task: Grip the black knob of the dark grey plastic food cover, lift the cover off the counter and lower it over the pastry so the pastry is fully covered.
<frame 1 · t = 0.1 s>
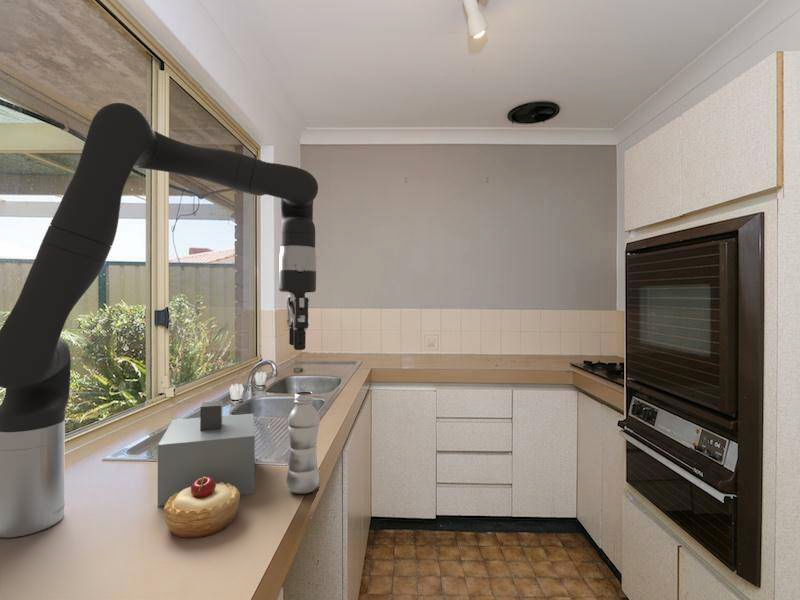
hand: (296, 347, 89), 29 cm above the worktop, tool pointing down, fingers open, 8 cm apart
plastic bottle: (302, 491, 87), on the worktop
food cover: (211, 481, 91), on the worktop
pastry: (203, 524, 74), on the worktop
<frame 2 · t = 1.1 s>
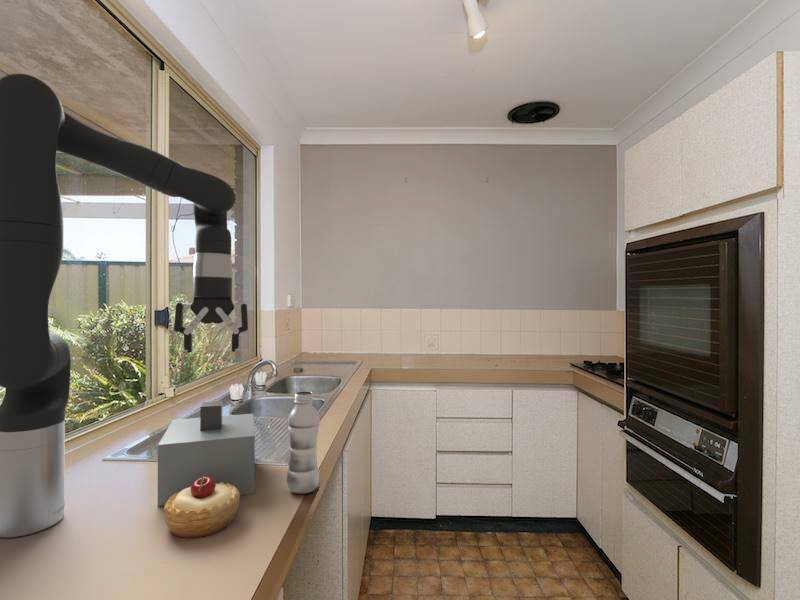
hand: (212, 351, 91), 28 cm above the worktop, tool pointing down, fingers open, 8 cm apart
nothing on the worktop moved.
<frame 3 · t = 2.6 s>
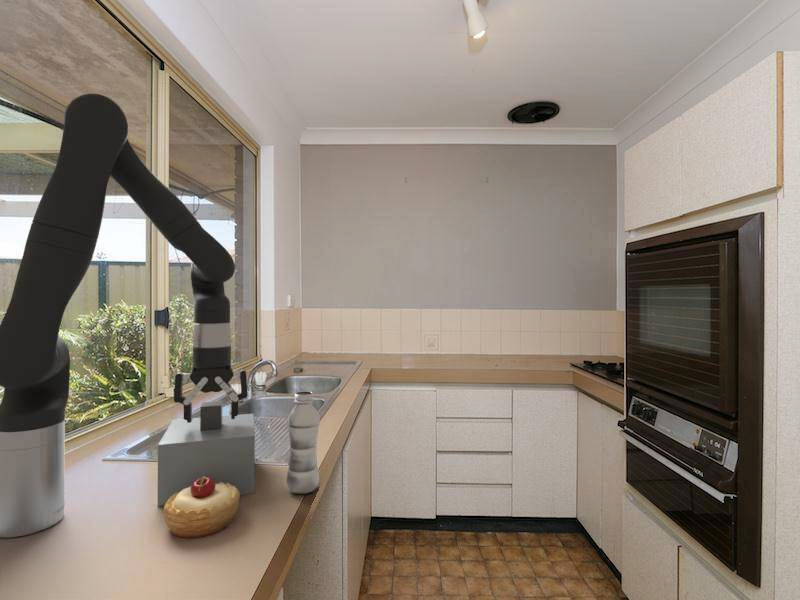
hand: (211, 419, 91), 13 cm above the worktop, tool pointing down, fingers open, 8 cm apart
nothing on the worktop moved.
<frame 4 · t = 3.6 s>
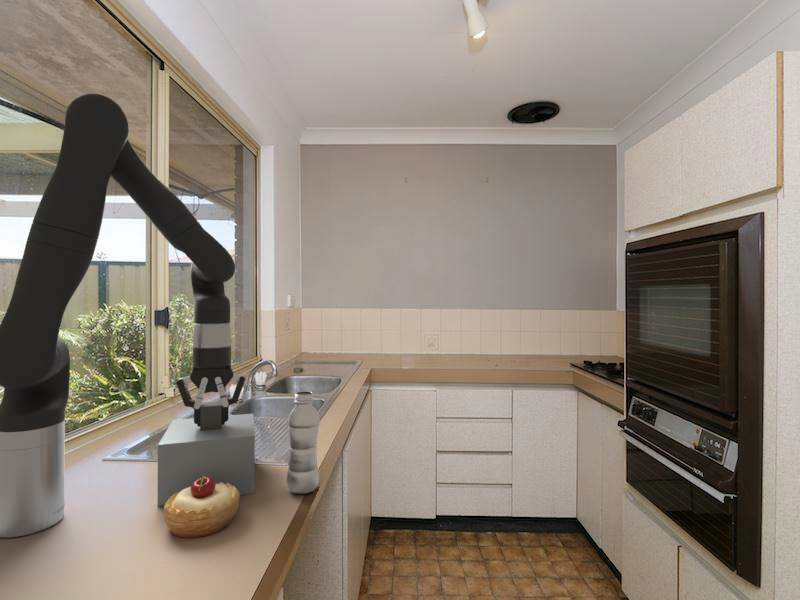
hand: (211, 424, 91), 12 cm above the worktop, tool pointing down, fingers closed on food cover, 4 cm apart
food cover: (211, 481, 91), on the worktop, touching gripper
everything else where it was.
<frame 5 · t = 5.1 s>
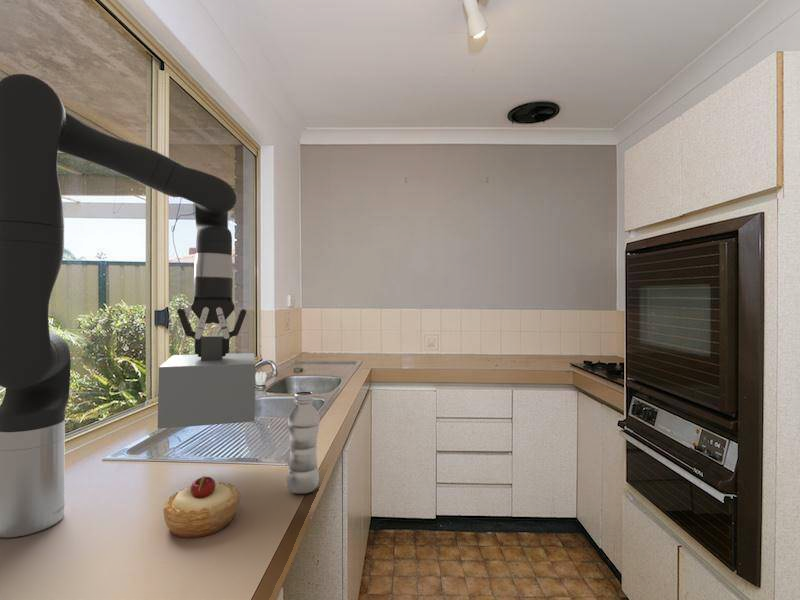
hand: (212, 355, 91), 27 cm above the worktop, tool pointing down, fingers closed on food cover, 4 cm apart
food cover: (211, 413, 91), point 15 cm above the worktop, touching gripper
everything else where it was.
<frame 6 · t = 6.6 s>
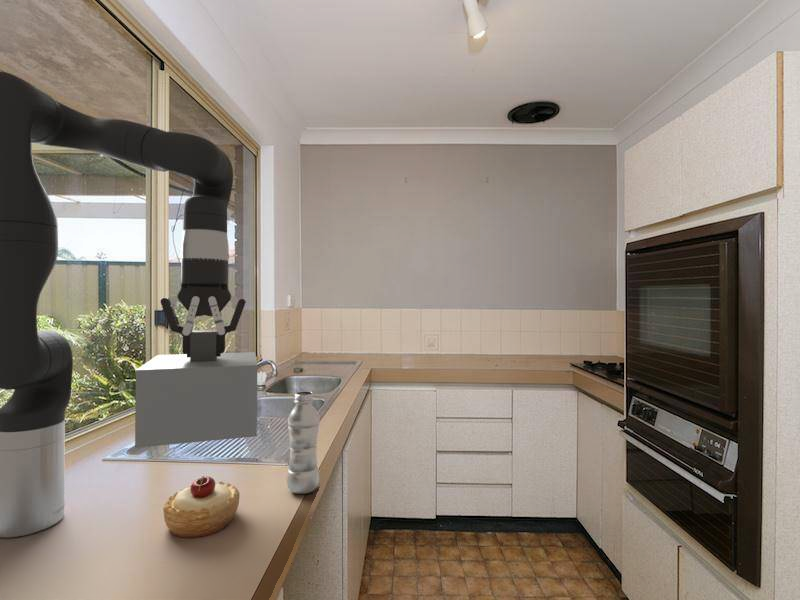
hand: (204, 355, 74), 29 cm above the worktop, tool pointing down, fingers closed on food cover, 4 cm apart
food cover: (203, 426, 74), point 17 cm above the worktop, touching gripper
everything else where it was.
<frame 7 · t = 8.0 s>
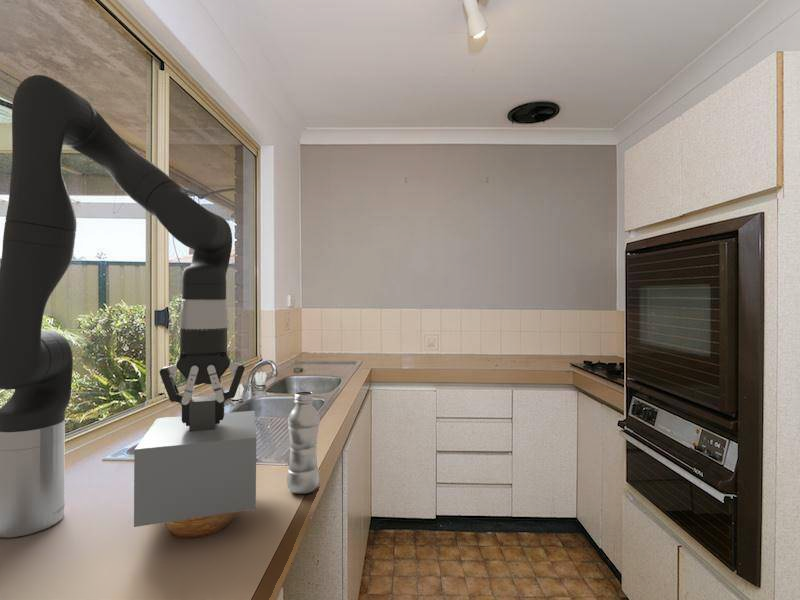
hand: (203, 423, 74), 17 cm above the worktop, tool pointing down, fingers closed on food cover, 4 cm apart
food cover: (202, 493, 74), point 5 cm above the worktop, touching gripper
everything else where it was.
when the fingers open (14 cm above the worktop, at t = 9.6 s): food cover drops 1 cm, on the worktop.
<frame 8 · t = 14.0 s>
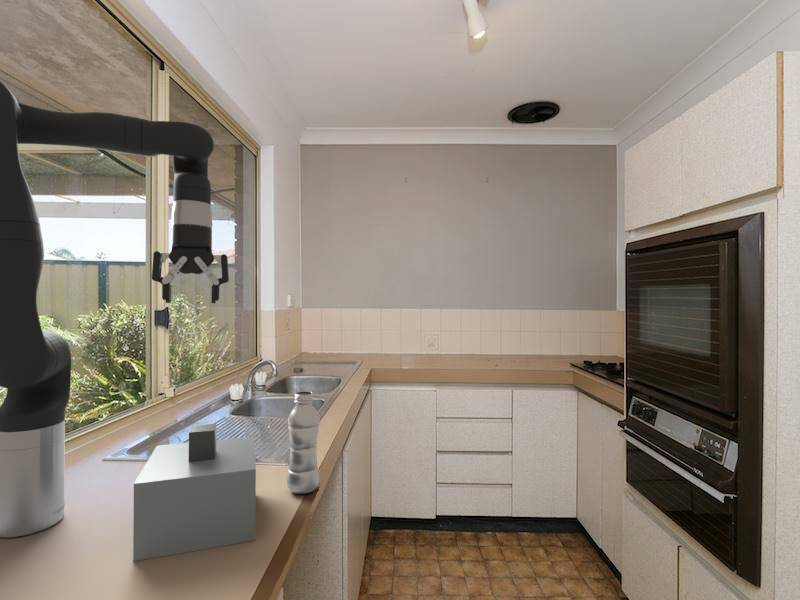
hand: (191, 303, 89), 38 cm above the worktop, tool pointing down, fingers open, 8 cm apart
food cover: (202, 522, 74), on the worktop
everything else where it was.
at the end: food cover 0.2 cm from the pastry (horizontally); food cover on the worktop; pastry moved 0.4 cm from its start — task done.
